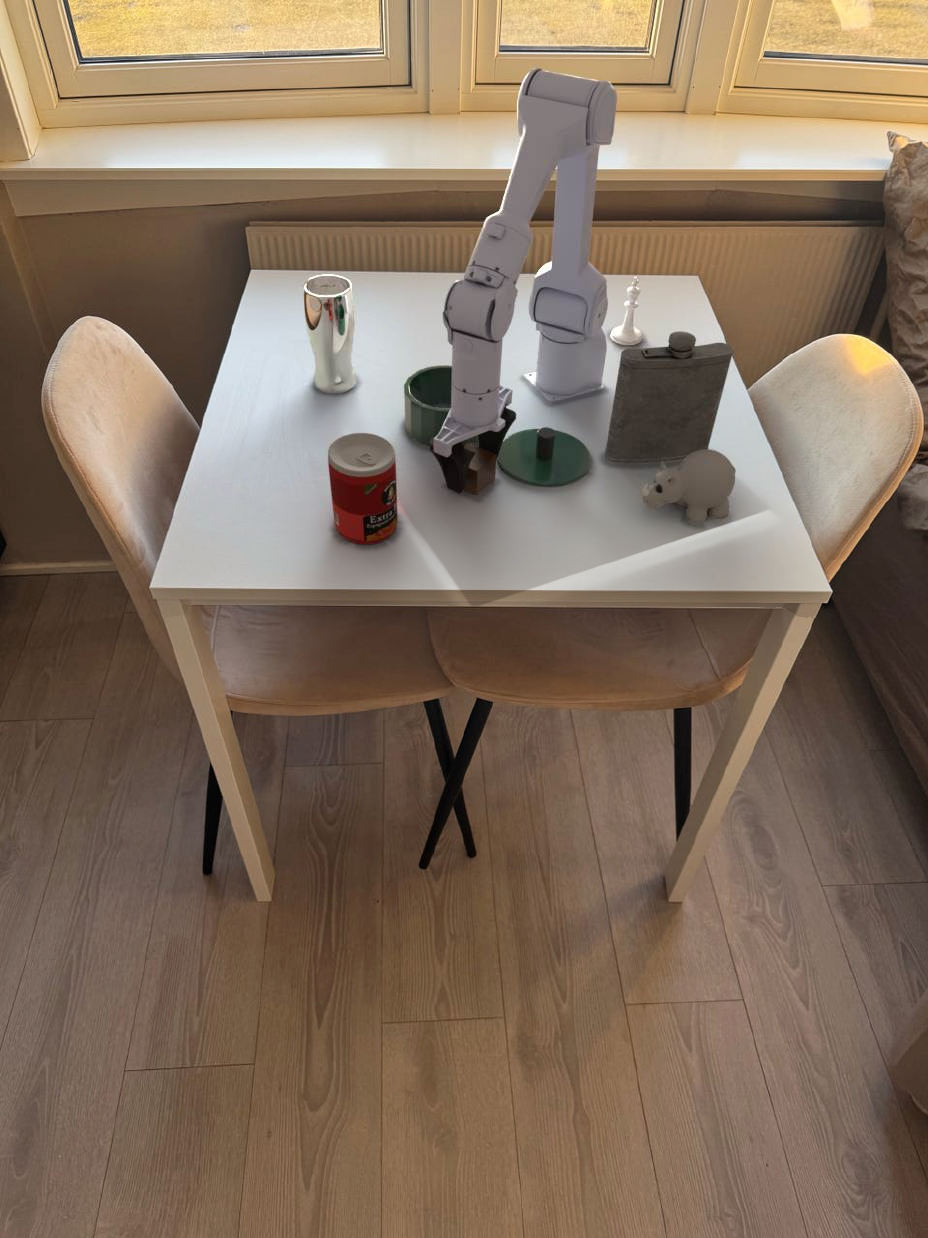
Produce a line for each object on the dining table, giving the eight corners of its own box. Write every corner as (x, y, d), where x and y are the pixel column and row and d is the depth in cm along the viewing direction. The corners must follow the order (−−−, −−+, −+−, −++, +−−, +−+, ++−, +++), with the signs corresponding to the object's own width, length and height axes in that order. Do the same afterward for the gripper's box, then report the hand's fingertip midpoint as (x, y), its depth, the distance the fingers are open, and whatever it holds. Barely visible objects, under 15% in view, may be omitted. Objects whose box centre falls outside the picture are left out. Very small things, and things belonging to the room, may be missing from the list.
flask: (711, 461, 125) (743, 339, 112) (609, 469, 123) (630, 347, 110) (702, 445, 128) (732, 325, 115) (601, 453, 126) (621, 331, 113)
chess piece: (646, 335, 148) (657, 275, 141) (633, 348, 146) (643, 287, 138) (618, 326, 150) (628, 267, 143) (605, 339, 147) (614, 279, 140)
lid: (559, 426, 130) (563, 397, 127) (607, 475, 122) (612, 446, 119) (481, 447, 126) (482, 418, 123) (525, 500, 118) (527, 470, 115)
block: (466, 470, 122) (467, 442, 119) (494, 482, 121) (496, 454, 118) (448, 486, 120) (448, 458, 117) (476, 499, 118) (477, 471, 115)
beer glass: (351, 398, 134) (344, 300, 123) (305, 392, 134) (294, 294, 124) (364, 373, 138) (359, 277, 128) (319, 367, 139) (310, 271, 128)
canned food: (374, 554, 110) (370, 480, 102) (321, 530, 113) (312, 456, 105) (410, 520, 115) (409, 446, 107) (358, 497, 118) (353, 424, 110)
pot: (464, 397, 134) (465, 357, 130) (501, 439, 127) (504, 399, 123) (392, 415, 131) (390, 375, 126) (426, 460, 124) (425, 419, 119)
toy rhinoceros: (624, 501, 119) (635, 446, 112) (710, 488, 121) (725, 434, 115) (646, 537, 114) (658, 482, 108) (735, 523, 116) (752, 468, 110)
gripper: (470, 420, 104) (466, 515, 113) (536, 365, 112) (527, 458, 122) (418, 400, 106) (419, 494, 116) (487, 348, 115) (482, 439, 124)
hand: (471, 474), depth 119 cm, fingers open, 7 cm apart
